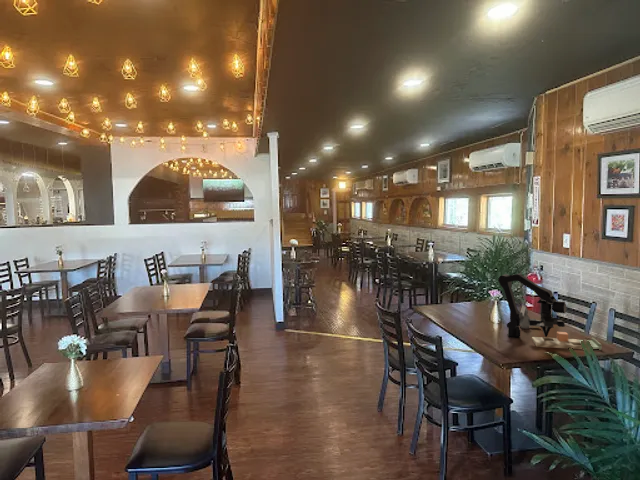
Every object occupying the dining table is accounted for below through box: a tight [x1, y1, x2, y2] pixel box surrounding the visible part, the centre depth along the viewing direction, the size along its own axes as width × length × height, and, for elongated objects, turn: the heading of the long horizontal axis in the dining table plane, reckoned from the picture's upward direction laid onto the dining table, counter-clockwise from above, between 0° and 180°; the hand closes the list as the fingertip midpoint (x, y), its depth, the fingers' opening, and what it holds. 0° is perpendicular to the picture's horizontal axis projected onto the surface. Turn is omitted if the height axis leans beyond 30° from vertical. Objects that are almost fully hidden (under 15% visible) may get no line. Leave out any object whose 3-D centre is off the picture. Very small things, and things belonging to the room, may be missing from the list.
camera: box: [519, 304, 541, 329], centre depth 286 cm, size 9×12×15 cm
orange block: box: [556, 331, 569, 341], centre depth 252 cm, size 5×5×4 cm
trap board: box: [531, 336, 603, 351], centre depth 249 cm, size 33×13×4 cm, turn 74°
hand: (545, 336), depth 254 cm, fingers closed
